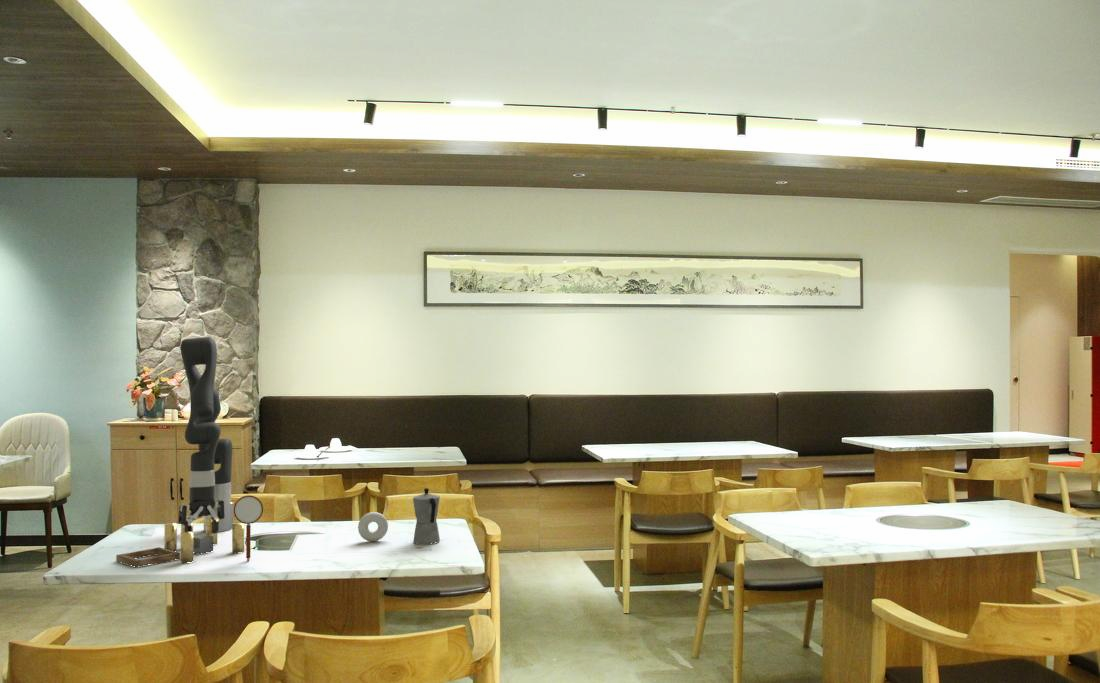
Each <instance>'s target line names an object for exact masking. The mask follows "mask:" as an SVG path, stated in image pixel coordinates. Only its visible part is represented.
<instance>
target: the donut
mask: <svg viewBox="0 0 1100 683" xmlns="http://www.w3.org/2000/svg"><path fill="white" fill-rule="evenodd" d="M388 522H389V521H388V519H387V518H386V517H385V515H383V514H382V513H380V512H378V511H377V512H375V511H372V512H371V511H370V512H367V513H366V514H364V515H363V516H362V517H361V518H360V519H359V522H358V524H357V525H358V526H357V530H358V533H359V535H360V537H361V538H362V539H364V541H367V542H372V541H374V542H378V541H380V540H382V539H383V538H384V537H385V536H386V535H387V532H388V530H389V529H388V528H389V523H388ZM371 523H375V524H376V525H377V529H376V530H374V531H372V530H370V529H369V525H370V524H371Z"/></svg>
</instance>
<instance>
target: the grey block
mask: <svg viewBox="0 0 1100 683" xmlns="http://www.w3.org/2000/svg"><path fill="white" fill-rule="evenodd" d="M211 551H213V552H214V545H213V536H209V535H206V534H203V535H198V536H194V551H193V552H195V553H194V554H196V553H199V554H200V555H202V554H201V553H205V554H207V553H206V552H211ZM211 553H212V552H211ZM199 554H198V555H199Z"/></svg>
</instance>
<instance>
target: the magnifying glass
mask: <svg viewBox="0 0 1100 683" xmlns="http://www.w3.org/2000/svg"><path fill="white" fill-rule="evenodd" d="M263 512H264V504H263V502H262V501H261V500H260V499H259V498H258V496H255V495H250V494H249V495H244V496H242V497H240V498H239V499H237V501H236V502H235V504H234V505H233V516H234V517H235V519H236V520H237V521H238V522H239V523H244V525H246V526H245V527H246V528H245V529H246V534H245V535H246V536H245V537H246V540H245V541H246V542H245V545H246V546H245V547H246V548H245V549H246V550H245V551H246V554H245V557H246V561H247V562H249V561H250V558H251V529H252V528H251V524H254V523H255V522H258V520H260V519H261V518H262V515H263Z"/></svg>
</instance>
